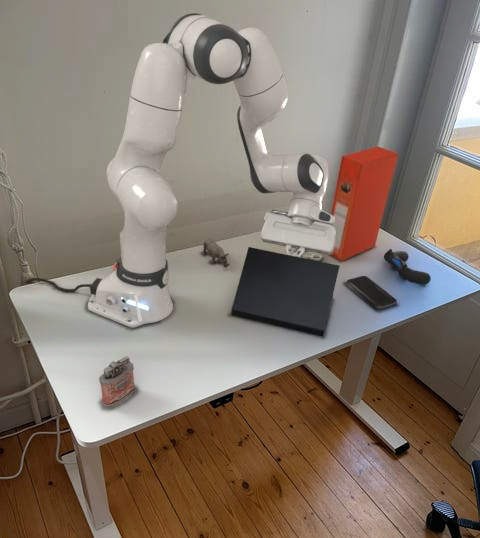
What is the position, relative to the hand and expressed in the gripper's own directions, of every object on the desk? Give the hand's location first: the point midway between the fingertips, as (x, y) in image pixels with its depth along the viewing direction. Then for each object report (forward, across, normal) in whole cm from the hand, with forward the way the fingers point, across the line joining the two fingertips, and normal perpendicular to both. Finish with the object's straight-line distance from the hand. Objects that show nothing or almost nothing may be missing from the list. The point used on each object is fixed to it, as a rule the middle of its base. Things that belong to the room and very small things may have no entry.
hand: (291, 263), depth 136 cm
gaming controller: (-11, +32, +28) cm, 44 cm away
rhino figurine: (0, -25, +17) cm, 30 cm away
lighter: (+44, -27, -27) cm, 58 cm away
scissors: (-8, -3, +26) cm, 27 cm away
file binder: (-17, +14, +35) cm, 42 cm away
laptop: (+11, 0, +6) cm, 13 cm away
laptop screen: (+7, 0, -1) cm, 7 cm away
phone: (0, +23, +17) cm, 29 cm away
